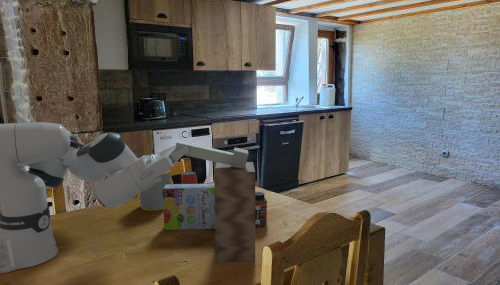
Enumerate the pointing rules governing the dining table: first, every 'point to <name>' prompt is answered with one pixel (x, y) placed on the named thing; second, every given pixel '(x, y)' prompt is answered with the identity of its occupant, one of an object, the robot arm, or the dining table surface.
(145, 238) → the dining table surface
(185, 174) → the beer can
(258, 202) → the supplement bottle
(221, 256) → the walnut stand
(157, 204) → the grey canister
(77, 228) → the dining table surface
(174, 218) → the snack box
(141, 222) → the dining table surface
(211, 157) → the bar
